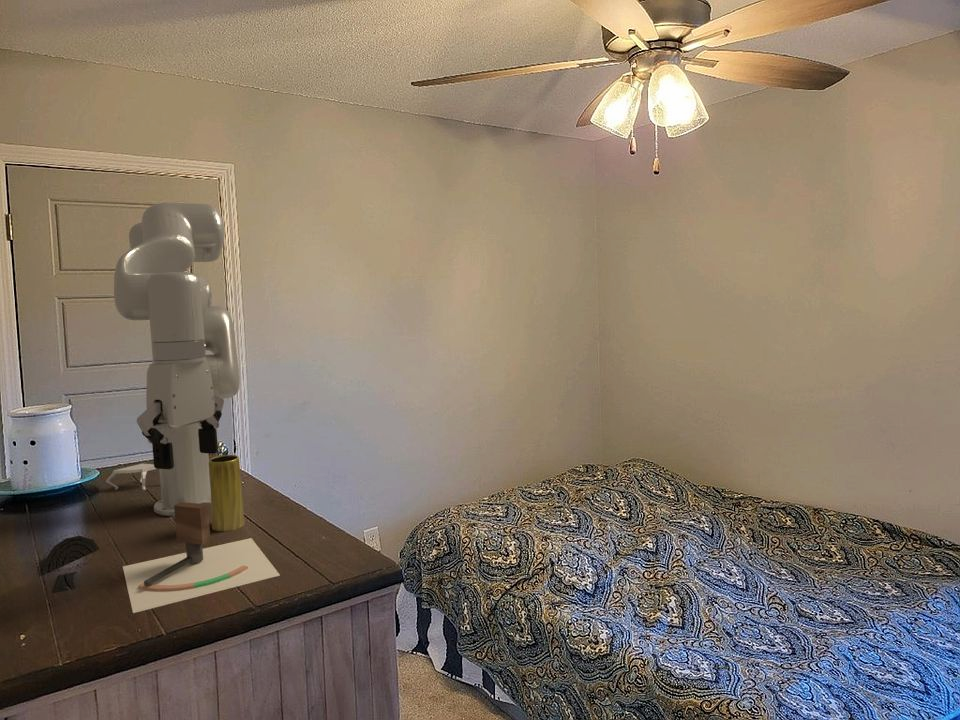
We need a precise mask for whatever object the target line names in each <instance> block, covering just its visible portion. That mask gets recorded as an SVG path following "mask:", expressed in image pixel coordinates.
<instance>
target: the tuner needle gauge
mask: <svg viewBox="0 0 960 720" xmlns="http://www.w3.org/2000/svg"><path fill="white" fill-rule="evenodd" d="M174 511H175V515H174V523H175V536H176V542H177V543H185V553H186V554H187V557H186V558H185V559H183V560H181V561H179V562H177V563H176V564H174V565H172V566H170V567H169V568H167V569H165V570H163V571H161V572H160V573H158V574H156V575H154V576H152V577H151V578H149V579H147V580H145V581H144V585H147V586H149V585H151V584H153V583H154V582H156V581H158V580H160V579H161V578H163V577H165V576H167V575H168V574H170V573H172V572H174V571H175V570H177V569H179V568H181V567H182V566H184V565H186V564H188V563H197V562H200V561H202V560H203V549H204V548H203V545H205V544H206V543H209V542H210V541H211V530H210V529H211V528H210V527H211V526H210V517H209V516H210V515H209V504H208V503H200V504H197V503H187V502H181V503H179V504H177V505H175V506H174Z"/></svg>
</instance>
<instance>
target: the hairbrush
mask: <svg viewBox="0 0 960 720" xmlns="http://www.w3.org/2000/svg"><path fill="white" fill-rule="evenodd" d="M81 534H82V536H81V535H79V534H77V535H75V533H74V532H73V533H72V532H71V534H70V535H74V536H72V537H66V538H64V539H63V536H62V535H61V537H60V538H62V540H61V541H60V542H59V540H58V539H56V544H55V542H54V541H53V542H52V543H53V544H54V546H53V547H52V545H50V546H49V547H51V550H50V549H48V551H49V553H48V551H46V552H45V553H46V554H47V555H46V554H45V555H44V556H43V559H44V560H43V561H42V567H43V568H42V576H45V575H48V574H50V573H51V572H55V571H56V570H58V572H61V570H63V571H65V572H66V573H63V574H59V575H58V579H57V582H56V584H55V585H54V588H53V590H52V591H51V595H52V594H57V593H62V592H67V591H70V590H75V589H76V585H75V583H74V576H75V575H76V574H77V573H78V571H71V570H72V568H71V567H66V569H67V570H68V571H70V572H68V573H67V571H66V569H63V567H64V566H66V565H69V566H70V565H71V563H75V562H76V561H79V560H80V559H82V558H84V557H85V558H87V557H88V556H89V555H91V554H94V553H96V552H98V551H99V550H100V547H99V546H98V545H97V543H96V542H95V540H94V539H92V538H90V535H88V536H87V534H85V535H84V533H83V532H81ZM83 535H84V536H83ZM65 536H68V534H67V533H66V535H65ZM57 542H58V543H57ZM91 557H92V556H91ZM93 557H94V556H93ZM93 557H92V558H90V561H91V560H92V559H93ZM80 565H83V566H85V565H88V563H87V562H85V563H84V562H83V563H81V562H80ZM80 565H79V563H77V564H76V567H75V569H76V570H78V569H77V568H78V567H80Z"/></svg>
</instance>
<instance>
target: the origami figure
mask: <svg viewBox="0 0 960 720" xmlns="http://www.w3.org/2000/svg"><path fill="white" fill-rule="evenodd" d="M152 470H154V471H155V470H157V469H156V468H155V467H154V463H153V464H151V463H140V464H139V463H137V464H135V465H130V466H127V467H122V468H118V469H113V471H112V473H111V474H110V475H109V476H108V478H106V480H105V482H106V483H107V484H109V485H111V486H113V487H114V491H117V490H118V489H119V488H120V487H119V486H117V485H116V484H114V483H112V482H111V480H112V479H113V478H114V477H115V476H116V475H118V474H135V473H140V475H141V476H140V480H139V482H140V483H141V489H142V490H144V491H146V490H147V488H146V479H147V478H146V476H147V474H148V472H149V471H152ZM159 484H160V481H159Z"/></svg>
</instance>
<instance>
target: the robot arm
mask: <svg viewBox="0 0 960 720" xmlns="http://www.w3.org/2000/svg"><path fill="white" fill-rule="evenodd" d="M225 231H226V230H225V224H224V219H223V217H222V215H221V213H220V212H219V210H218V209H217V208H216V207H215V206H213V205H211V204H208V203H186V202H185V203H184V202H160V203H155V204H153V205H150V206H149V207H148V208H146V209H145V211H144V212H143V213H142V218H141V222H138V223H135V224H134V225H132V226H131V228H130V229H129V232H128V233H129V234H128V242H129V248H130V249H129V250H127V251H126V252H125V253H123V255H121V256H120V258H119V259H118V260H117V262H116V265H115V268H114V274H113V276H114V277H113V278H114V279H113V299H114V300H113V301H114V304H115V305H114V306H115V308H116V310H117V312H118V313H119V314H120V315H121V317H123V318H124V319H126V320H130V321H149V327H150V328H149V330H150V340H151V341H150V343H151V354H152V355H151V356H152V363H149V365H148V368H147V370H146V390H145V392H146V393H145V394H146V395H145V397H146V399H145V401H146V402H145V404H146V409H145V410H144V412H142V413H141V414H140V415H139V416H138V417H137V419H136V423H137V425H138V427H139V428H140V430H141V434H142V435H143V436H144V437H145V438H146V439H147V442H148V443H149V444H151V445H152V457H153V464H154V467H155V468H156V469H155V470H158V469H159V482H160V483H159V484H160V492H161V493H160V495H161V496H160V497H161V499H159V500H158V501H156V502H155V503H154V504H153V511H154V513H156V514H158V515H160V516H167V517H168V516H169V517H172V516H175V511H174V506H175V505H177V504H179V503H181V502H187V503H197V504H204V503H205V504H208V503H209V504H211V488H210V476H209V459H210V457H209V456H210V455H209V454H211V455H215V454H217V453H219V447H218V445H219V443H218V436H217V435H218V434H217V433H218V432H217V431H218V430H217V429H218V428H219V427H220V419H221V418H222V415H223V412H222V411H223V407H224V404H225V400H224V399H229V398H233V397H234V396H236V395H237V394H238V392H239V390H240V384H241V383H240V369H239V359H238V353H237V351H238V350H237V343H236V335H235V328H234V323H233V319H232V315H231V314H230V311H228V310H227V308H225V307H223V306H220V305H219V306H218V305H212V303H213V302H212V299H213V296H212V289H211V284H210V283H208V282H207V281H206V279H205V278H204V277H203V276H201V275H200V274H197V273H192V272H186V271H187V270H189V269H190V267H192V265H193V263H210V262H215V261H217V260H218V259H219V258H220V256H221V254H222V250H223V245H224V242H225V237H226V236H225V235H226V233H225ZM206 351H209V352H211V353H212V354H206Z"/></svg>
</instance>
